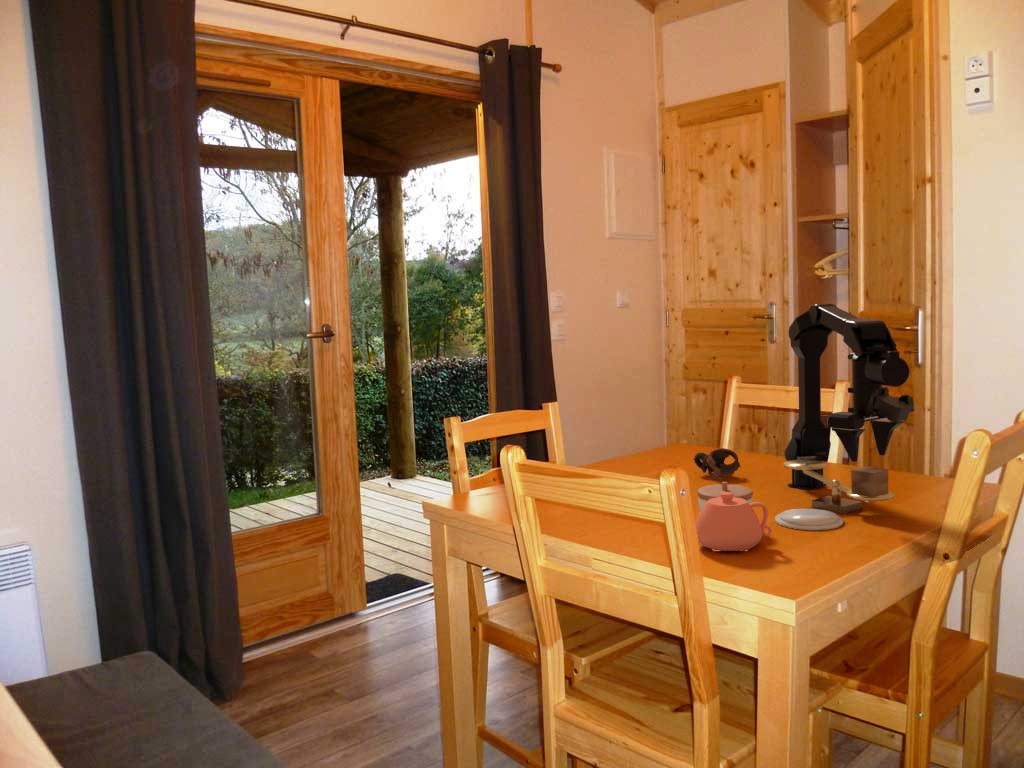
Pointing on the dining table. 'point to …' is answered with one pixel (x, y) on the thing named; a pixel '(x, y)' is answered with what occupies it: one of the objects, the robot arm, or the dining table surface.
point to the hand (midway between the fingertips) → (868, 458)
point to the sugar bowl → (730, 523)
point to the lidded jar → (715, 491)
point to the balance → (833, 489)
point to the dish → (809, 519)
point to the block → (869, 481)
